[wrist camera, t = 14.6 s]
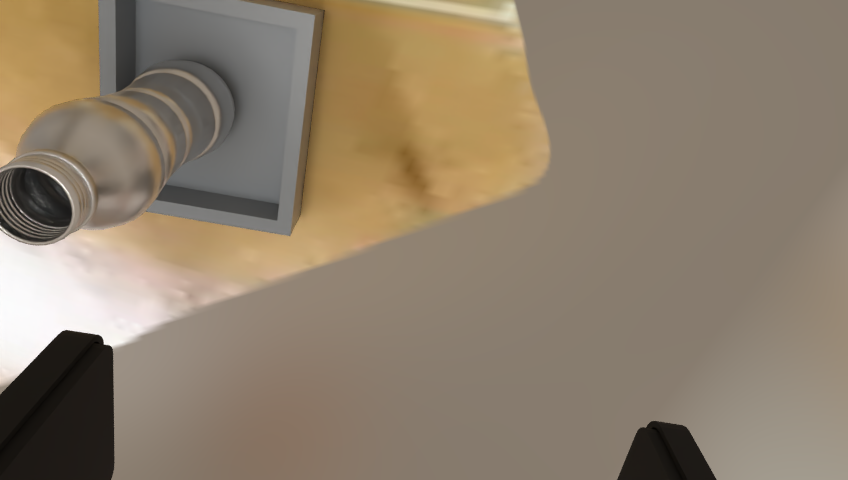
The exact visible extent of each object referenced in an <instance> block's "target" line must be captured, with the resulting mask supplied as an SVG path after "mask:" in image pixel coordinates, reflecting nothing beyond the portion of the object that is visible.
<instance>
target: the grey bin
mask: <svg viewBox="0 0 848 480" xmlns="http://www.w3.org/2000/svg"><path fill="white" fill-rule="evenodd" d="M98 1H99V56H100V96H106V95H109V94H112V93H115V92H118V91H121V90H123V89H124V88H126V87H127V86H128V85H130V84H131V83H132V82H133V80H134V79H135V78H136V77H138V76H139V75H140V74H141V73H142V72H144V71H145V70H146V69H147V68H149V67H150V66H152V65H154V64H156V63H160V62H163V61H169V60H186V61H193V62H196V63H199V64H202V65H204V66H206V67H208V68H210V69H212V70H213V71H214V72H215V73H217V74H218V75H219V76H220V77H221V78H222V79H223V81H224V82H225V83H226V85H227V86H228V88H229V90H230V92H231V94H232V97H233V101H234V107H235V112H234V120H233V123H232V127H231V129H230V131H229V133H228V135H227V137H226V139H225V140H224V142H223V143H222V144H221V145H220V146H219V147H218V148H217V149H215V150H214V151H213V152H211V153H209V154H207V155H205V156H202V157H200V158H198V159H196V160H192V161H189V162H187V163H185V164H184V165H182V166H180V167H179V168H178V169H177V170H176V171H175V172H174V174H173V175H172V176H171V177H170V178H169V179H168V181H167V182H166V184H165V186H164V187H163V189H162V190H161V192H160V193H159V195H158V197H157V198H156V199H155V200H154V202H153V203H152V204H151V205H150V206H149V207H148V209H147V210H146V212H152V213H158V214H163V215H169V216H175V217H181V218H187V219H193V220H199V221H205V222H211V223H216V224H222V225H228V226H234V227H240V228H246V229H252V230H258V231H264V232H269V233H275V234H281V235H287V236H290V235H291V233H292V231H293V229H294V227H295V225H296V223H297V221H298V219H299V217H300V213H301V205H302V196H303V188H304V179H305V171H306V162H307V154H308V145H309V137H310V128H311V120H312V111H313V103H314V94H315V86H316V77H317V69H318V60H319V52H320V43H321V35H322V26H323V18H324V10H320V9H315V8H310V7H305V6H300V5H295V4H290V3H285V2H280V1H275V0H98Z"/></svg>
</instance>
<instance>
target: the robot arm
mask: <svg viewBox="0 0 848 480" xmlns="http://www.w3.org/2000/svg"><path fill="white" fill-rule="evenodd" d="M113 395H114V393H113V349H112V347H111V346H109V345H104V342H103V339H102V337H101V336H100V335H95V334H88V333H82V332H75V331H69V330H65V331H62V332H61V333H60V334H59V335H58V336H57V337H56V338H55V339H54V340H53V341H52V342H51V343H50V344H49V345H48V346H47V347H46V348H45V349H44V350H43V351H42V352H41V353H40V354H39V355H38V356H37V357H36V358H35V359H34V360H33V361H32V362H31V363H30V364H29V365H28V367H27V368H26V369H25V370H24V371H23V372H22V373H21V374H20V375H19V376H18V377H17V378H16V379H15V380H14V381H13V382H12V383H11V384H10V385H9V386H8V387H7V388H6V389H5V390H4V391H3V392H2V394H0V480H111V478H112V475H113V470H114V400H113V399H114V398H113ZM617 480H716V478H715V476H714V474H713V473H712V471H711V469H710V467H709V465H708V464H707V462H706V460H705V458H704V456H703V455H702V453H701V451H700V449H699V448H698V446H697V444H696V442H695V441H694V439H693V437H692V435H691V433H690V432H689V430H688V429H687V428H686V427H685V426H683V425H677V424H671V423H664V422H658V421H652V422H650V423H649V424H648V425H647V427H646V428H644V427H643V428H640V429H639V430H638V431H637V433H636V435H635V438H634V440H633V443H632V445H631V448H630V450H629V452H628V455H627V457H626V460H625V462H624V465H623V467H622V470H621V472H620V475H619V477H618V479H617Z"/></svg>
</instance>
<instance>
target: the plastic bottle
mask: <svg viewBox="0 0 848 480" xmlns="http://www.w3.org/2000/svg"><path fill="white" fill-rule="evenodd" d="M234 112H235V107H234V101H233V97H232V94H231V92H230V90H229V88H228V86H227V85H226V83H225V82H224V81H223V79H222V78H221V77H220V76H219V75H218V74H217V73H215V72H214V71H213V70H212V69H210V68H208V67H206V66H204V65H202V64H199V63H196V62H193V61H186V60H169V61H163V62H160V63H156V64H154V65H152V66H150V67H149V68H147V69H146V70H145V71H144V72H142V73H141V74H140V75H139V76H138V77H136V78H135V79H134V80H133V82H132V83H131V84H130V85H128V86H127V87H126V88H124V89H123V90H121V91H118V92H115V93H112V94H109V95H106V96H99V97H92V98H84V99H76V100H73V101H69V102H65V103H62V104H58V105H54V106H52V107H50V108H49V109H47V110H45V111H43V112H42V113H41V114H40V115H38V116H37V117H36V118H35V119H34V120H33V121H32V123H31V124H30V125H29V127H28V128H27V129H26V131H25V132H24V134H23V135H22V136H21V139H20V141H19V144H18V147H17V153H16V158H14V159H13V160H12V161H11V162H9V163H8V164H7V165H5V166H3V167H1V168H0V230H1V231H2V232H4V233H5V234H6V235H8V236H9V237H11V238H13V239H15V240H17V241H19V242H22V243H26V244H30V245H48V244H52V243H55V242H58V241H60V240H62V239H64V238H65V237H67V236H68V235H69V234H70V233H73V232H75V231H77V230H79V229H85V230H103V229H107V228H112V227H116V226H120V225H124V224H126V223H128V222H131V221H133V220H135V219H136V218H138V217H139V216H140V215H142V214H143V213H144V212H145V211H146V210H147V209H148V207H149V206H150V205H151V204H152V203H153V202H154V200H155V199H156V198H157V197H158V195H159V193H160V192H161V190H162V189H163V187H164V186H165V184H166V182H167V181H168V179H169V178H170V177H171V176H172V175H173V174H174V172H175V171H176V170H177V169H178V168H179V167H180V166H182V165H184V164H185V163H187V162H189V161H192V160H196V159H198V158H200V157H202V156H205V155H207V154H209V153H211V152H213V151H214V150H215V149H217V148H218V147H219V146H220V145H221V144H222V143H223V142H224V140H225V139H226V137H227V135H228V133H229V131H230V129H231V127H232V123H233V120H234Z"/></svg>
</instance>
